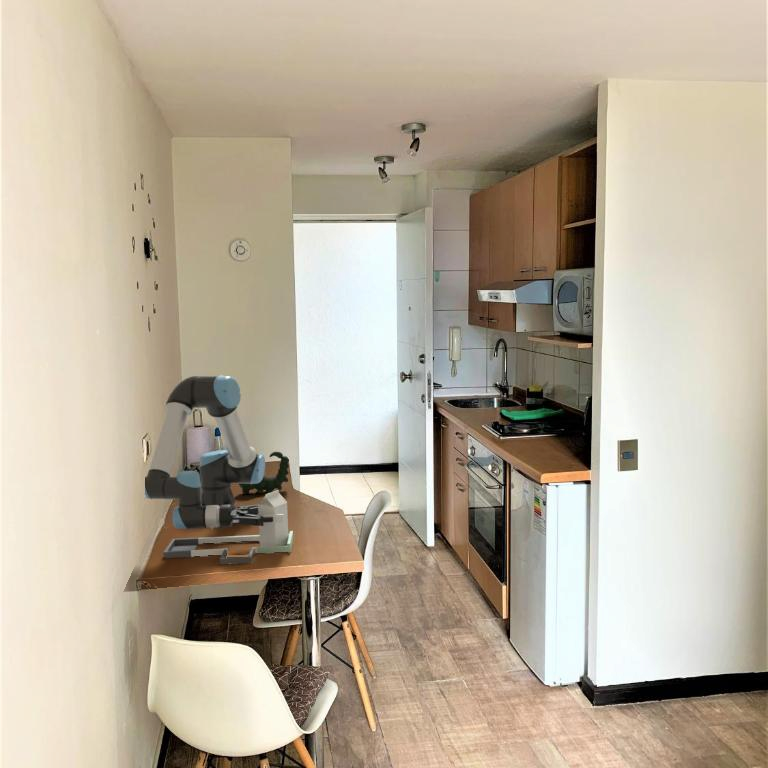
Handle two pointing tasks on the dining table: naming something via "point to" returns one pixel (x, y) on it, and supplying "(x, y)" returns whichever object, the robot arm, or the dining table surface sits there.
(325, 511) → the dining table surface
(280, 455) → the toy figurine
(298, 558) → the dining table surface
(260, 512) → the milk carton
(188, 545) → the trap lane
